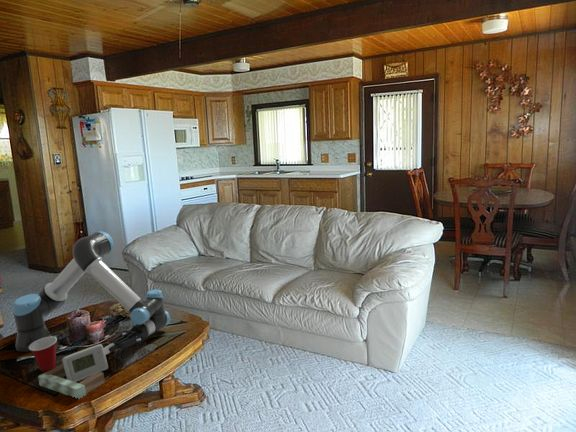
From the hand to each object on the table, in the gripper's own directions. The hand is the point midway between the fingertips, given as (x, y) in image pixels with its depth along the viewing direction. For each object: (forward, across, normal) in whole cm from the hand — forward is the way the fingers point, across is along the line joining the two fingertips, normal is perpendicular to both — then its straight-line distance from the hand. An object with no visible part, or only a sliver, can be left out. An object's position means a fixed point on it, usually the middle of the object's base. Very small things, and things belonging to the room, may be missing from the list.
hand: (101, 353), depth 187 cm
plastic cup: (+11, -22, +6) cm, 25 cm away
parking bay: (+14, 0, +6) cm, 15 cm away
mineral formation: (-43, -34, +6) cm, 56 cm away
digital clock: (+8, 0, +6) cm, 10 cm away
